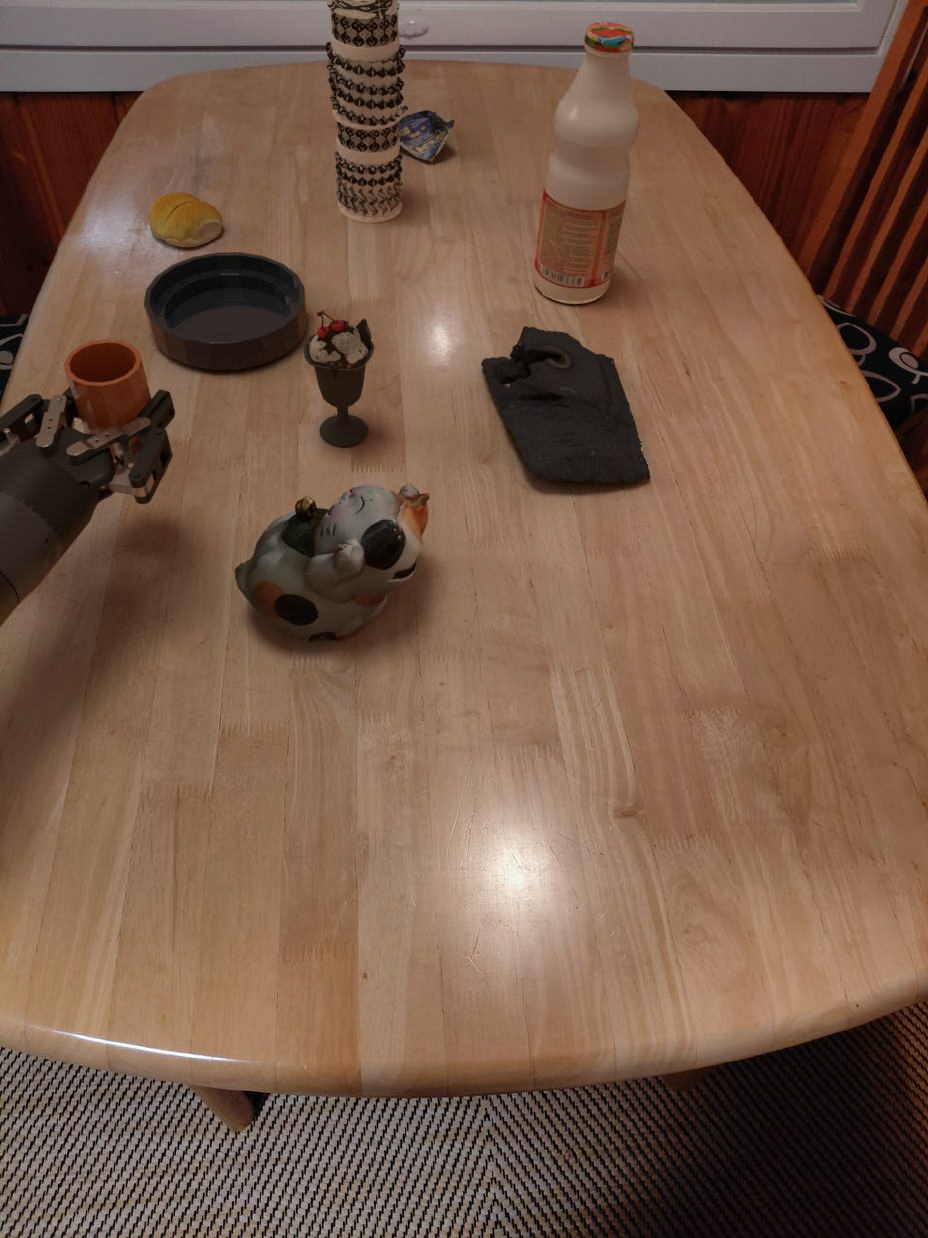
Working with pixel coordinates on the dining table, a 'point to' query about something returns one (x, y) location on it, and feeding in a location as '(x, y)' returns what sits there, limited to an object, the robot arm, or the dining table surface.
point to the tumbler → (107, 385)
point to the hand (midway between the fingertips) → (132, 389)
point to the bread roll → (184, 220)
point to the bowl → (226, 310)
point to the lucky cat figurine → (335, 561)
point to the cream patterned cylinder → (367, 107)
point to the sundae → (340, 375)
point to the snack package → (423, 133)
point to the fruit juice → (588, 171)
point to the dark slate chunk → (566, 410)
